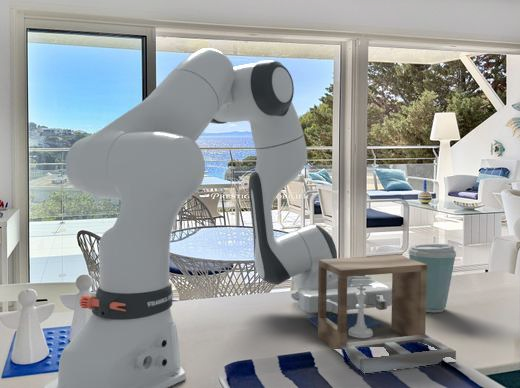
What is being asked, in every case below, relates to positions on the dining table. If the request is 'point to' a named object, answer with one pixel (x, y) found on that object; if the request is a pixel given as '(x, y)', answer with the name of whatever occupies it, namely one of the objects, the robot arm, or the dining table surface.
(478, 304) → the dining table surface
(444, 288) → the disposable coffee cup
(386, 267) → the tunnel
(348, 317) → the mat
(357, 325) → the chess piece
